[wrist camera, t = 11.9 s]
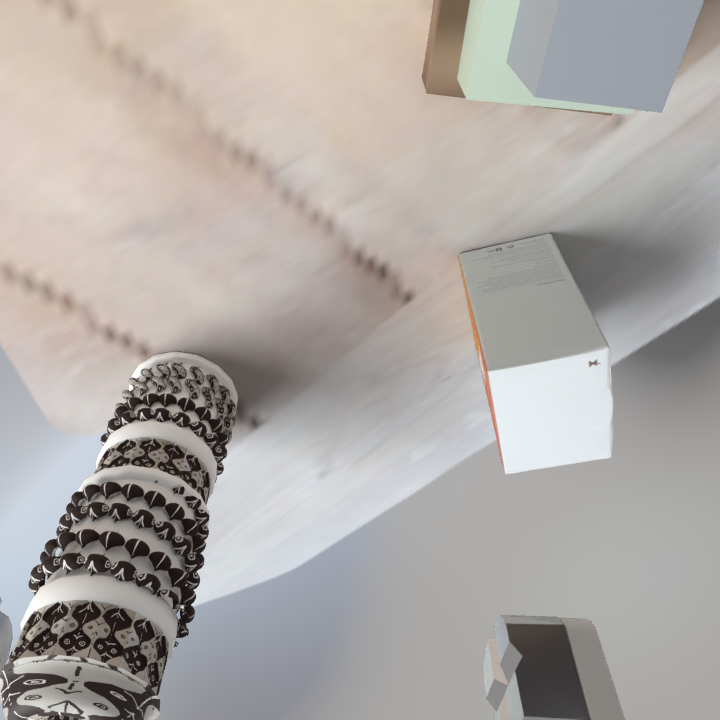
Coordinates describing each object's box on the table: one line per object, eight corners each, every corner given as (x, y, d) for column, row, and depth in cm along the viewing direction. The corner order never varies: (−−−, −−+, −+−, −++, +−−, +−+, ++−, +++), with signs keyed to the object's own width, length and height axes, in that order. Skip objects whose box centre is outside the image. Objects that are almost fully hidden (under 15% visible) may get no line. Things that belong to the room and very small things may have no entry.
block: (536, -70, 26) (575, -59, 22) (654, -53, 27) (718, -39, 22) (506, 62, 29) (534, 97, 24) (613, 75, 30) (661, 112, 25)
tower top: (488, -112, 29) (504, -112, 26) (663, -93, 29) (700, -90, 26) (457, 78, 34) (466, 99, 30) (608, 93, 34) (633, 115, 31)
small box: (455, 251, 43) (484, 370, 33) (552, 230, 42) (613, 345, 32) (473, 347, 48) (504, 478, 37) (560, 330, 47) (616, 459, 36)
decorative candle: (267, 395, 51) (204, 732, 31) (196, 454, 55) (98, 788, 34) (171, 325, 47) (26, 658, 27) (102, 394, 51) (-70, 730, 31)
